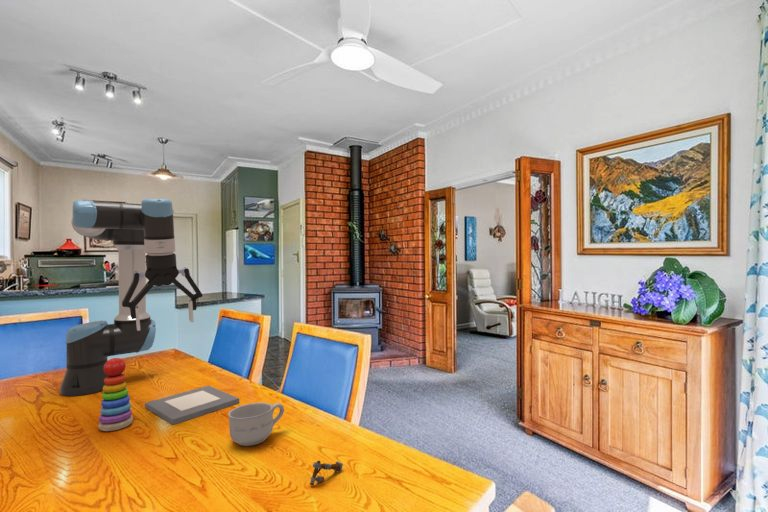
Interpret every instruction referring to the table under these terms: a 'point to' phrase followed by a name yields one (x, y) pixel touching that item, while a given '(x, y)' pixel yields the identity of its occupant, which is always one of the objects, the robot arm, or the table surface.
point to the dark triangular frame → (324, 466)
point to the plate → (191, 404)
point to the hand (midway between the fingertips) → (165, 325)
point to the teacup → (253, 422)
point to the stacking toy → (115, 398)
